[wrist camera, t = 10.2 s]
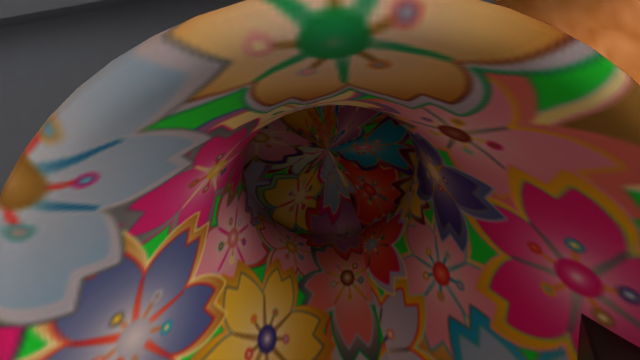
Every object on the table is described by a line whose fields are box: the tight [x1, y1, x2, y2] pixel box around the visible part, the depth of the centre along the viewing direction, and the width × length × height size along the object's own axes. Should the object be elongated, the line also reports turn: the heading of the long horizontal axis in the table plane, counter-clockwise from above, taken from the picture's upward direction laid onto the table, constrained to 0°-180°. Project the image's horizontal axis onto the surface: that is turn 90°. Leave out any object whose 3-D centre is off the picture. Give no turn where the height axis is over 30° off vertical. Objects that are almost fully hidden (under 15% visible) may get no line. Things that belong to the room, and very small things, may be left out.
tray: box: [0, 0, 494, 195], centre depth 15 cm, size 27×17×2 cm, turn 99°
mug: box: [0, 0, 640, 360], centre depth 10 cm, size 12×9×11 cm
